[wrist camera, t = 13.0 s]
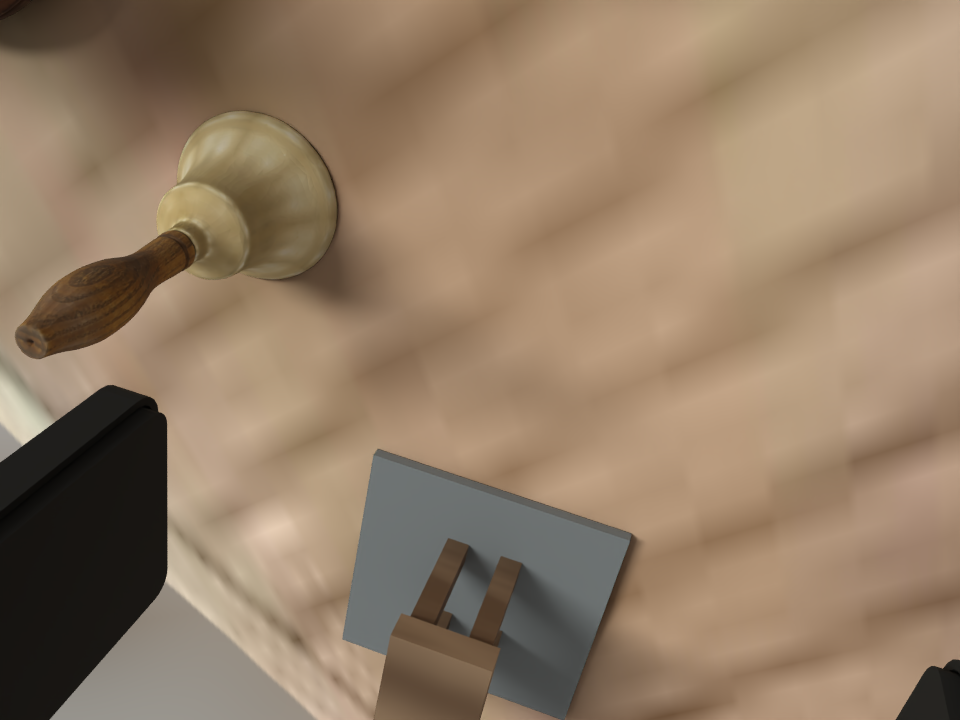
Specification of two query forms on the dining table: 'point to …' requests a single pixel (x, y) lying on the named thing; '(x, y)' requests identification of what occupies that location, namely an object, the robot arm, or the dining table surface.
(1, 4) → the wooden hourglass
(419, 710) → the walnut stool
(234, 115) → the hand bell
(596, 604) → the slate mat
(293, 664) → the dining table surface
